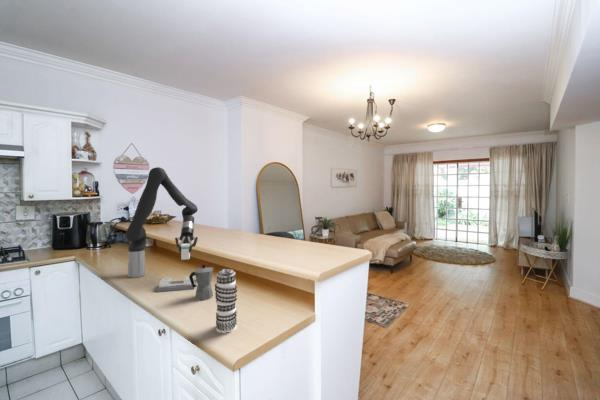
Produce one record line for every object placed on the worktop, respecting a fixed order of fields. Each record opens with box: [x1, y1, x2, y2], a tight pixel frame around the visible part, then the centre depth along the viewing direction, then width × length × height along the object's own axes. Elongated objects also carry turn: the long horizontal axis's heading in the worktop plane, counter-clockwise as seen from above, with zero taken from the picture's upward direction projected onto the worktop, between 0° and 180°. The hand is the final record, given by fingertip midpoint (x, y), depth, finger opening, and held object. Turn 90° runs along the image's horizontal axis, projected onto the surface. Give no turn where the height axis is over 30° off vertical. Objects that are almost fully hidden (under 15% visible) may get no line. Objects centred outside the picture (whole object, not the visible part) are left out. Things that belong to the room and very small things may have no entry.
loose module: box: [180, 243, 191, 261], centre depth 167 cm, size 4×4×9 cm
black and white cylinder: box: [214, 268, 238, 334], centre depth 114 cm, size 9×9×25 cm
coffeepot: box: [188, 264, 215, 301], centre depth 144 cm, size 15×9×18 cm, turn 147°
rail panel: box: [156, 275, 197, 293], centre depth 160 cm, size 20×12×5 cm, turn 105°
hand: (185, 252), depth 165 cm, fingers closed on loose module, 4 cm apart
